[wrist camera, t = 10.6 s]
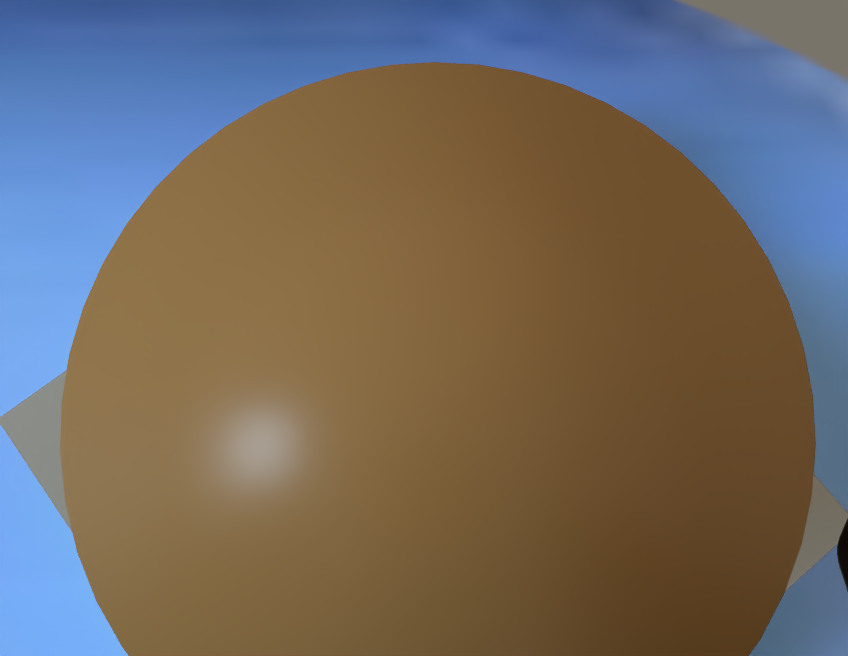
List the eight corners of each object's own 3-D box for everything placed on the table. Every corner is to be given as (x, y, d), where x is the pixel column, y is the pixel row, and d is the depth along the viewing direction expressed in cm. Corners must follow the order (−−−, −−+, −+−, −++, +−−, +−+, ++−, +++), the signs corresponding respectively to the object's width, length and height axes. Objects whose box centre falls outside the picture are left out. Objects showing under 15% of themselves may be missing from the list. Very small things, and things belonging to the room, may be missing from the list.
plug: (554, 497, 17) (986, 464, 4) (404, 621, 16) (365, 1039, 3) (436, 351, 17) (493, -66, 5) (289, 464, 17) (-96, 333, 4)
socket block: (780, 522, 17) (877, 525, 13) (374, 882, 15) (362, 996, 12) (461, 150, 19) (471, 67, 15) (69, 434, 17) (-22, 415, 13)
